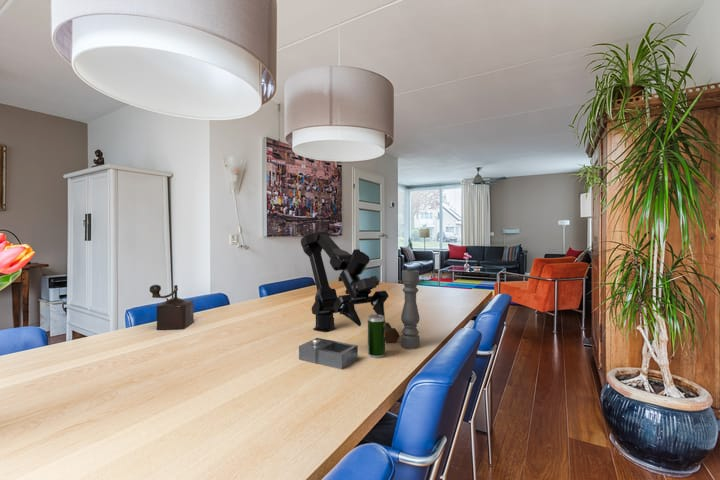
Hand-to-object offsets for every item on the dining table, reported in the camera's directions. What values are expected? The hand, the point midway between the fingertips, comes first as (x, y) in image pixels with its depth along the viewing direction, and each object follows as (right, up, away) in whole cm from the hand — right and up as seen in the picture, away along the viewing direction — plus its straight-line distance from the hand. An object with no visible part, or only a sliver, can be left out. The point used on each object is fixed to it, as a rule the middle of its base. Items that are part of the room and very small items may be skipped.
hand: (372, 323), depth 107 cm
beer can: (+1, -10, -1) cm, 10 cm away
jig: (-13, -10, -5) cm, 17 cm away
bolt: (+6, -9, +17) cm, 21 cm away
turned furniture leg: (+13, -9, +7) cm, 17 cm away
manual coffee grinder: (-78, -9, +28) cm, 83 cm away
